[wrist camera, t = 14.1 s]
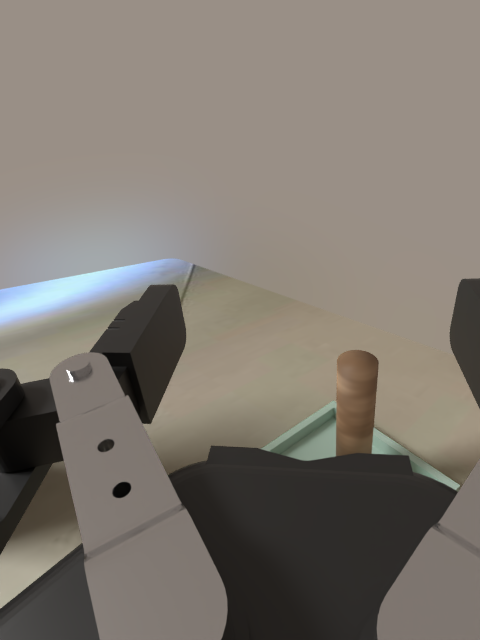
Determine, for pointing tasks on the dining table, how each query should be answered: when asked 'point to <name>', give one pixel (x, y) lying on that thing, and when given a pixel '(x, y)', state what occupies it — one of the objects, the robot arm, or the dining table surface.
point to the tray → (320, 442)
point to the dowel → (355, 402)
